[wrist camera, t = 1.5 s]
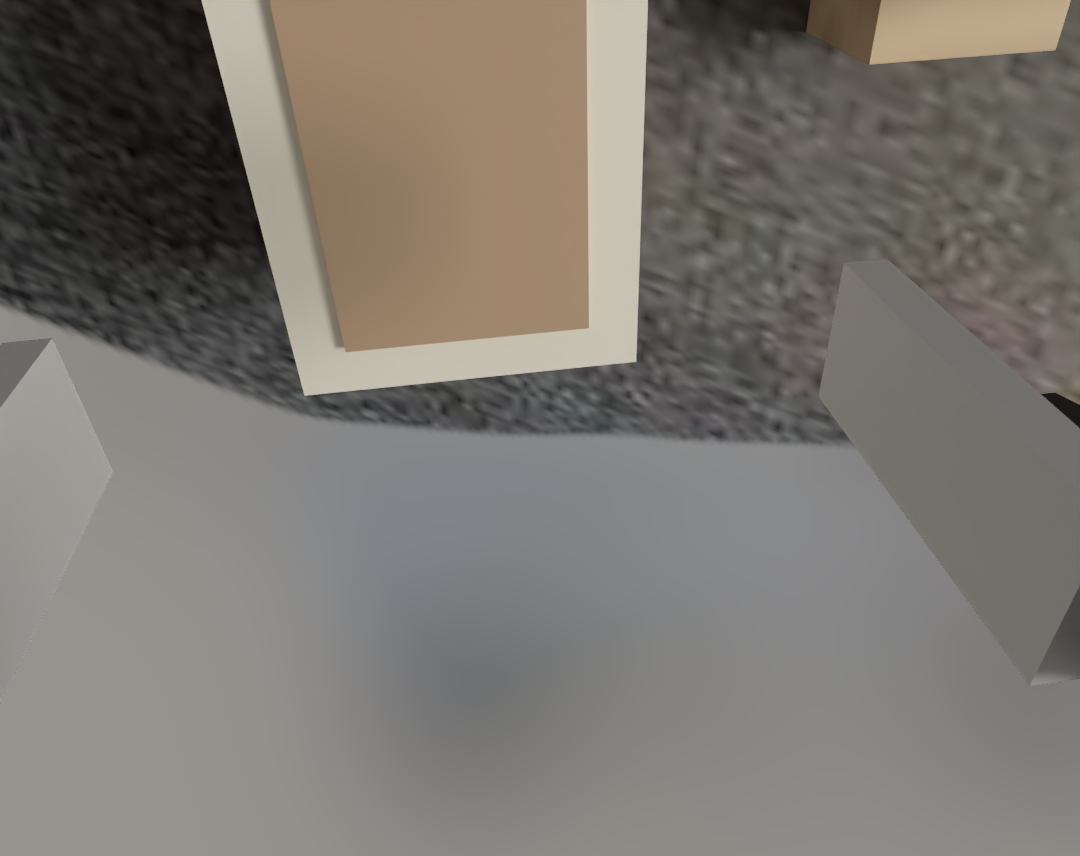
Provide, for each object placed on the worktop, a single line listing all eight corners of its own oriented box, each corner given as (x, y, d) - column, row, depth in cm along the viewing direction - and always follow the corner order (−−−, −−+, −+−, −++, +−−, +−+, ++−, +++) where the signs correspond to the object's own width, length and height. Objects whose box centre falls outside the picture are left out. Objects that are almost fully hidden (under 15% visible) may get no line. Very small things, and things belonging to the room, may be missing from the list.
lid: (204, -90, 19) (176, -80, 17) (628, -115, 20) (654, -109, 17) (312, 353, 26) (303, 401, 24) (620, 323, 27) (638, 366, 24)
